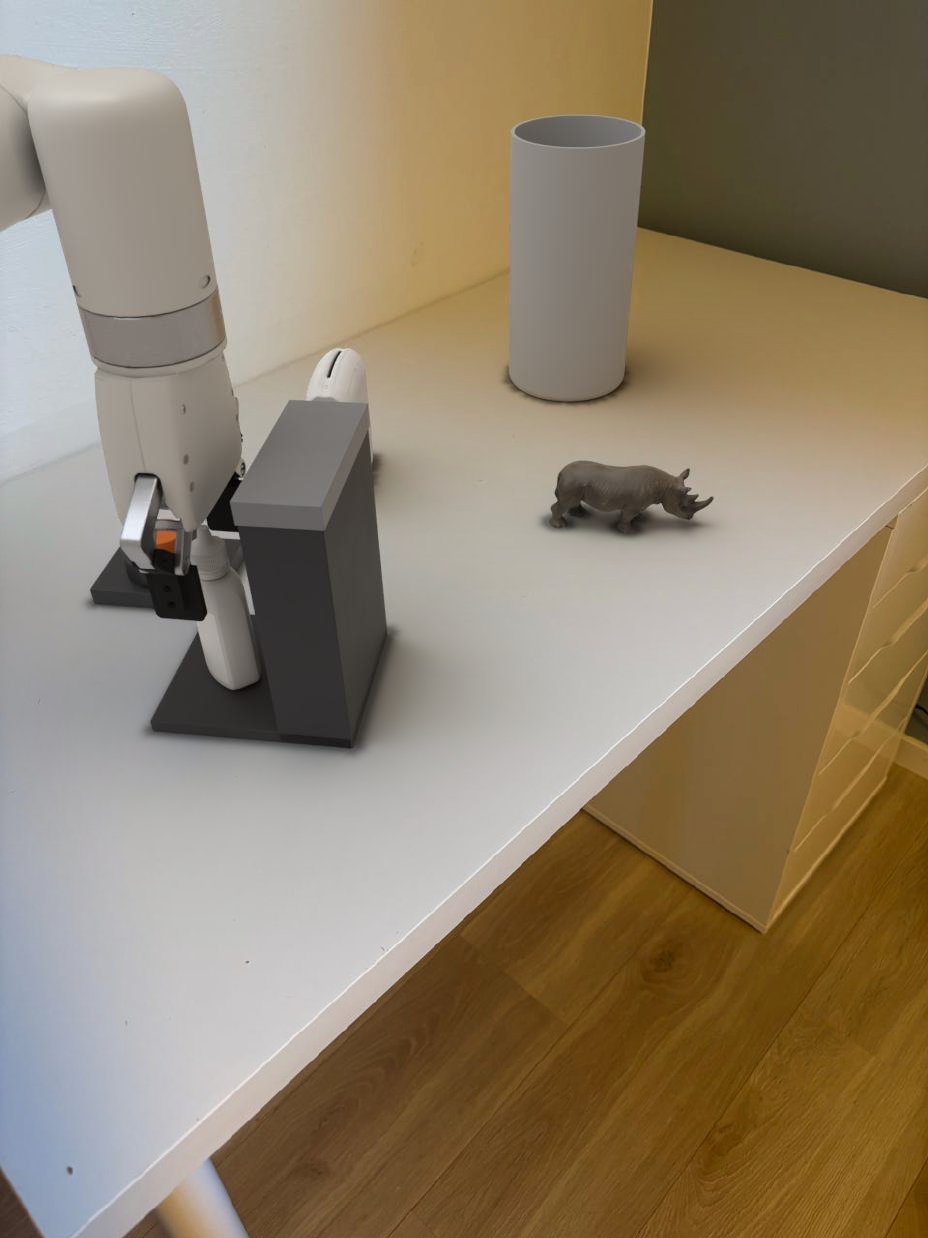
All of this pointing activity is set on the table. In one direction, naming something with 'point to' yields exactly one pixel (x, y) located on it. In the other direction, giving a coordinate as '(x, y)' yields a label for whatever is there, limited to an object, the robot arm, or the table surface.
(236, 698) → the coffee maker
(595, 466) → the rhino figurine
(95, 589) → the control pad
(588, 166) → the cylinder vase
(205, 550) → the eye dropper bottle
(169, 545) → the button
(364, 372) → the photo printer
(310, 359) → the table surface
